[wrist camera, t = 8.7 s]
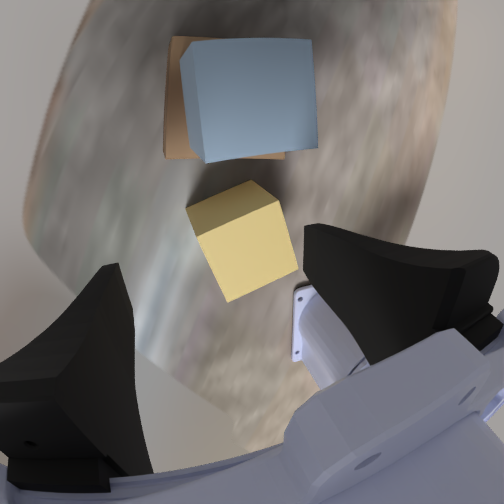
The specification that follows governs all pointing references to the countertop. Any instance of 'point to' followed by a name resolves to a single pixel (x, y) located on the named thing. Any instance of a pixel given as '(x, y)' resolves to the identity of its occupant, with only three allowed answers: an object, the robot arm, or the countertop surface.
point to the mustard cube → (243, 238)
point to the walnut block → (175, 109)
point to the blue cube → (249, 97)
